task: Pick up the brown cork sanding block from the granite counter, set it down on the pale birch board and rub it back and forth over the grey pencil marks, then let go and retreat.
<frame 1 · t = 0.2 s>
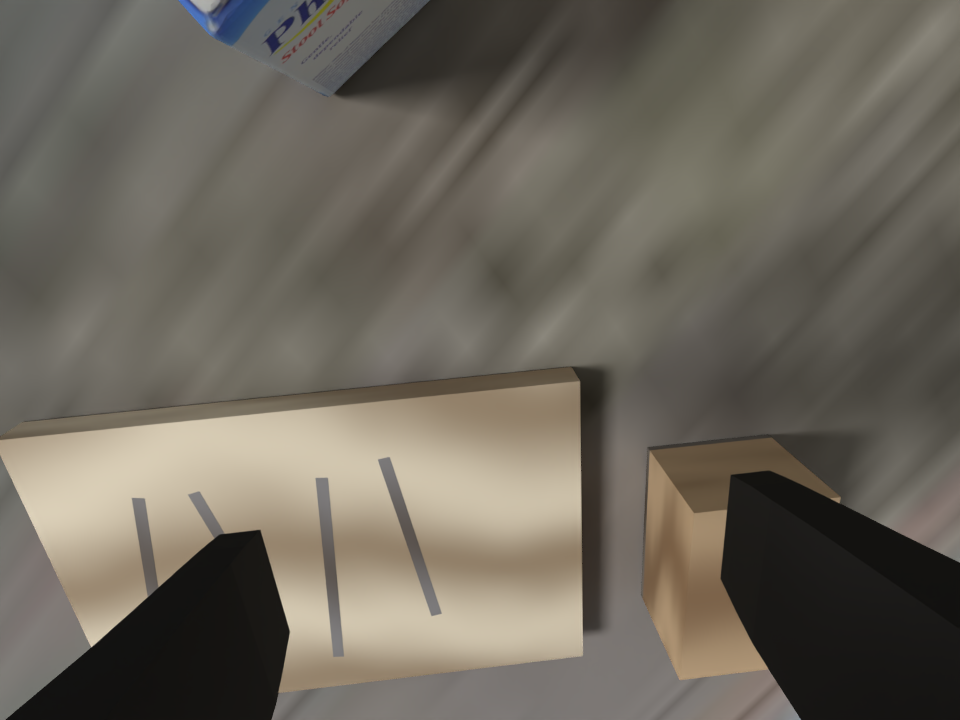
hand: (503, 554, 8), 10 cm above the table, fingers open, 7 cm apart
board: (334, 539, 20), on the table
sanding block: (698, 516, 21), on the table
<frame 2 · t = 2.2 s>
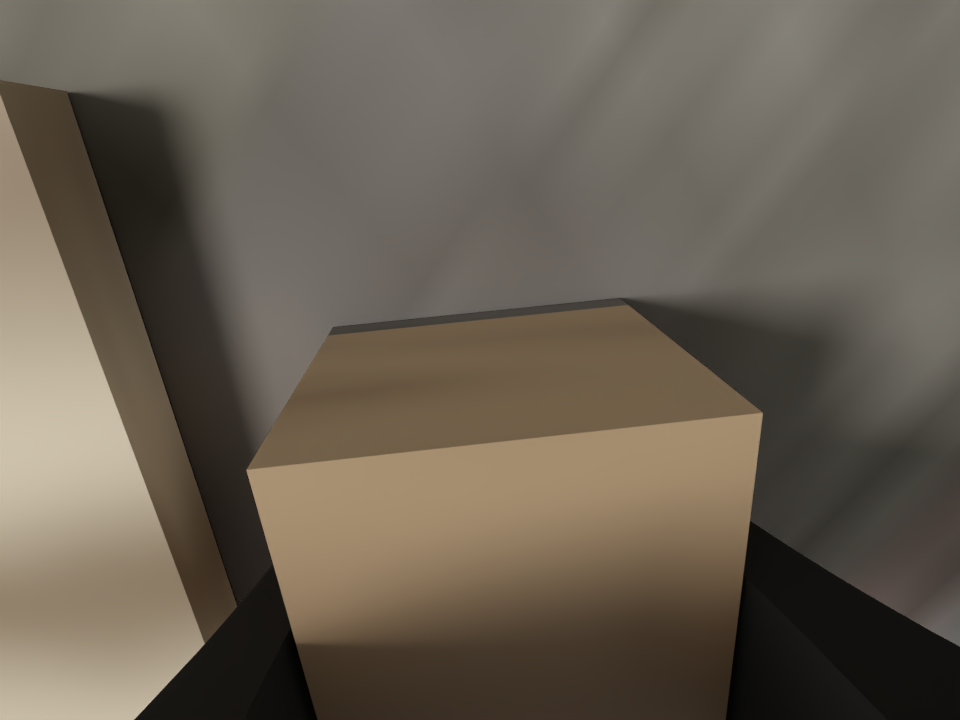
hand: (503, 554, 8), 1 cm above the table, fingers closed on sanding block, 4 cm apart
sanding block: (494, 499, 10), on the table, touching gripper
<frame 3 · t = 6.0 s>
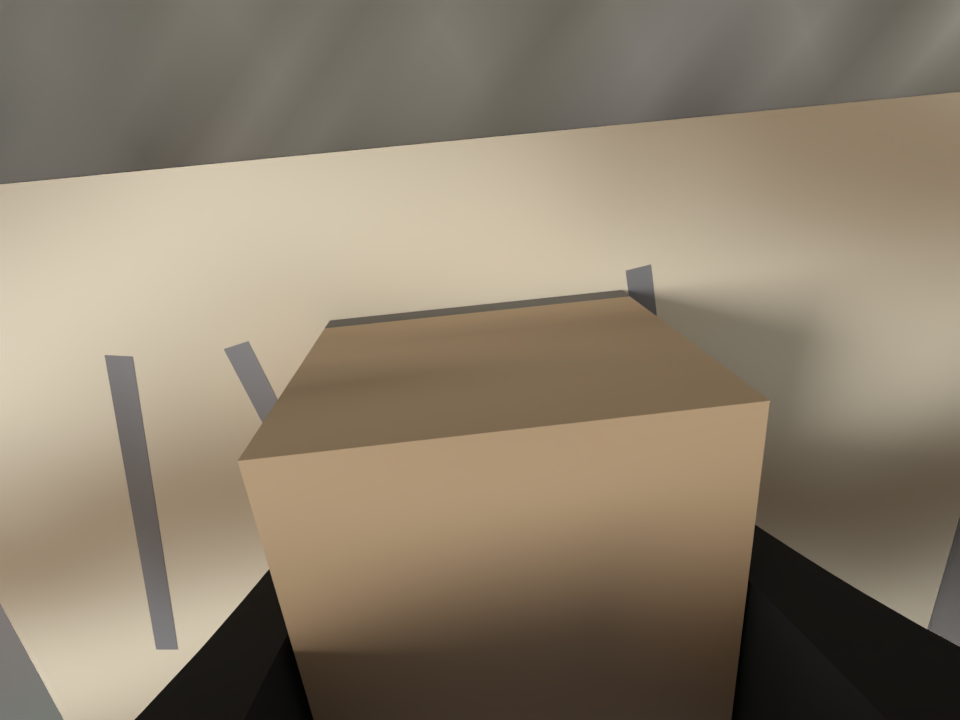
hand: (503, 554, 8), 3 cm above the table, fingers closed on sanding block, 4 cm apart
board: (489, 465, 11), on the table
sanding block: (494, 495, 9), point 1 cm above the table, touching gripper
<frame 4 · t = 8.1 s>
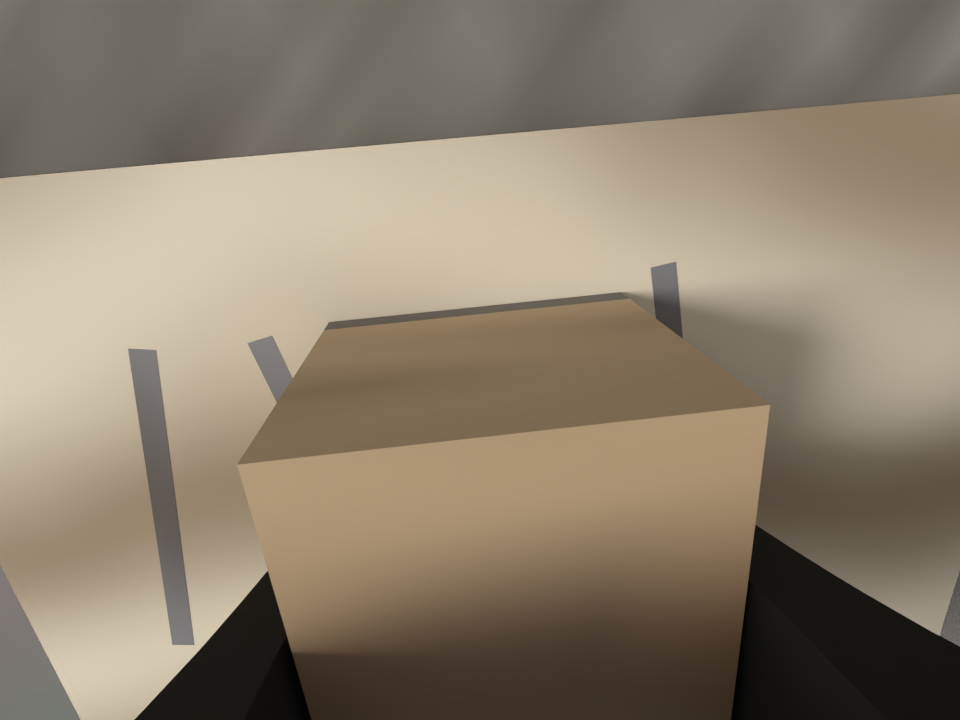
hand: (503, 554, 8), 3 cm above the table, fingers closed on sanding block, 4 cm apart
board: (507, 462, 11), on the table
sanding block: (493, 497, 9), point 1 cm above the table, touching gripper
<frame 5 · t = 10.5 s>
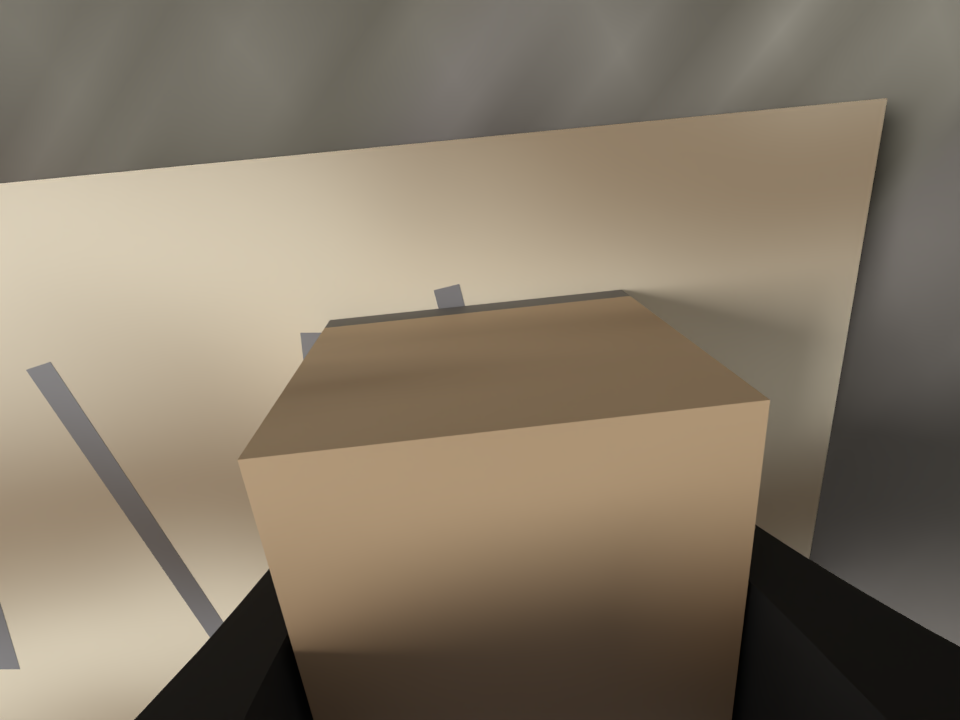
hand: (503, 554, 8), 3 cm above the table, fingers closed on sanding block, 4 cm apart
board: (341, 482, 11), on the table
sanding block: (494, 495, 9), point 1 cm above the table, touching gripper
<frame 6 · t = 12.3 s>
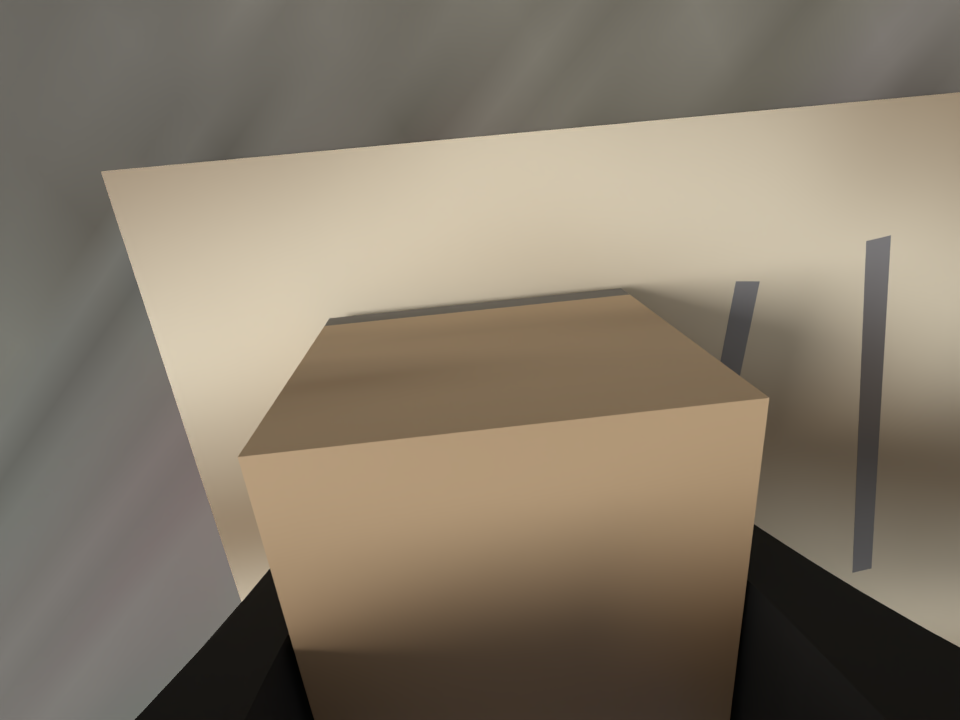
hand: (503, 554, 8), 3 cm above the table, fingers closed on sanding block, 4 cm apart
board: (680, 435, 11), on the table
sanding block: (494, 493, 9), point 1 cm above the table, touching gripper
when the fingers open (3 cm above the table, at t = 12.8 s): sanding block stays where it is, resting on board.
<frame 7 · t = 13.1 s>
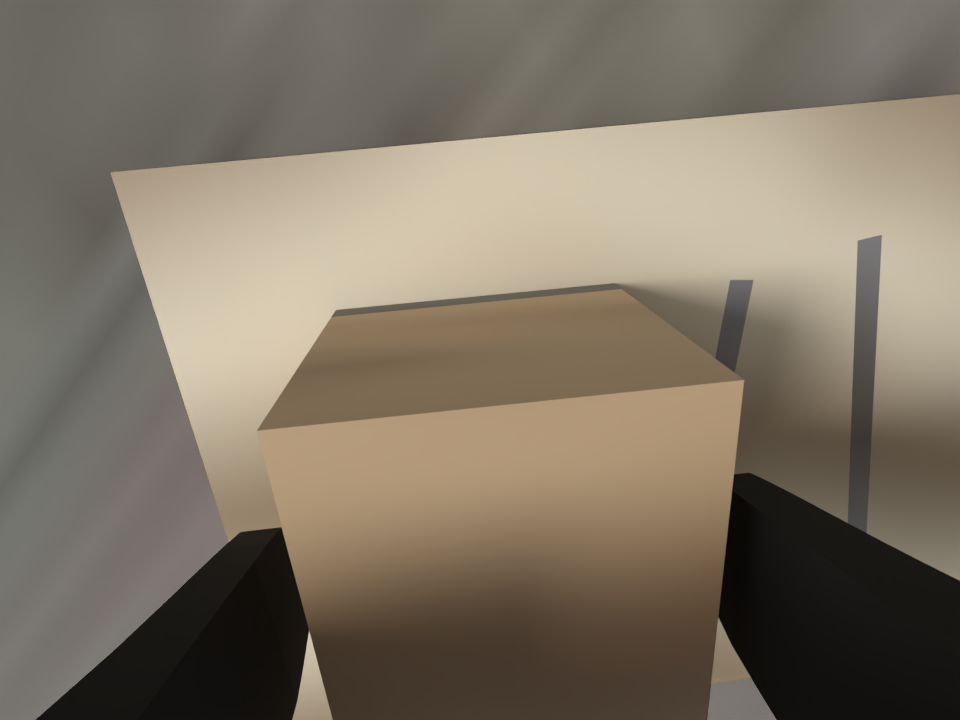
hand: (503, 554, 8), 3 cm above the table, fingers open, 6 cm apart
board: (676, 432, 11), on the table
sanding block: (491, 480, 10), point 1 cm above the table, touching board
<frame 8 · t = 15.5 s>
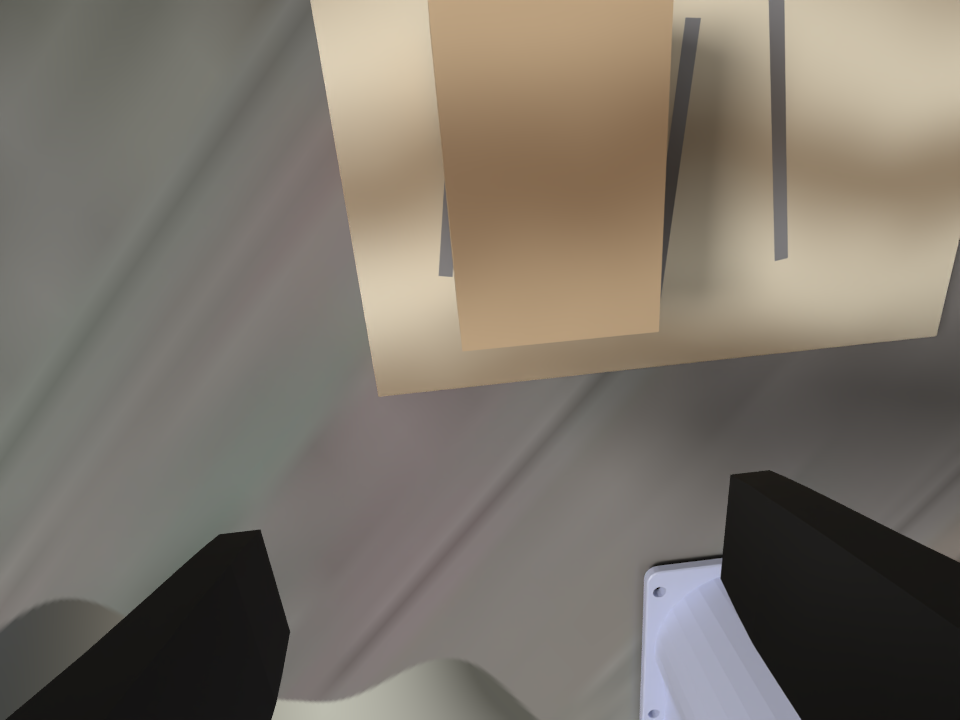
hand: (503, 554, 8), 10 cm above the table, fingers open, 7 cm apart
board: (654, 164, 16), on the table
sanding block: (526, 172, 15), point 1 cm above the table, touching board
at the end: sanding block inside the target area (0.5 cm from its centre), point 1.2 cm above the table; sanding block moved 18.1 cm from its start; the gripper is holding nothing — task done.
